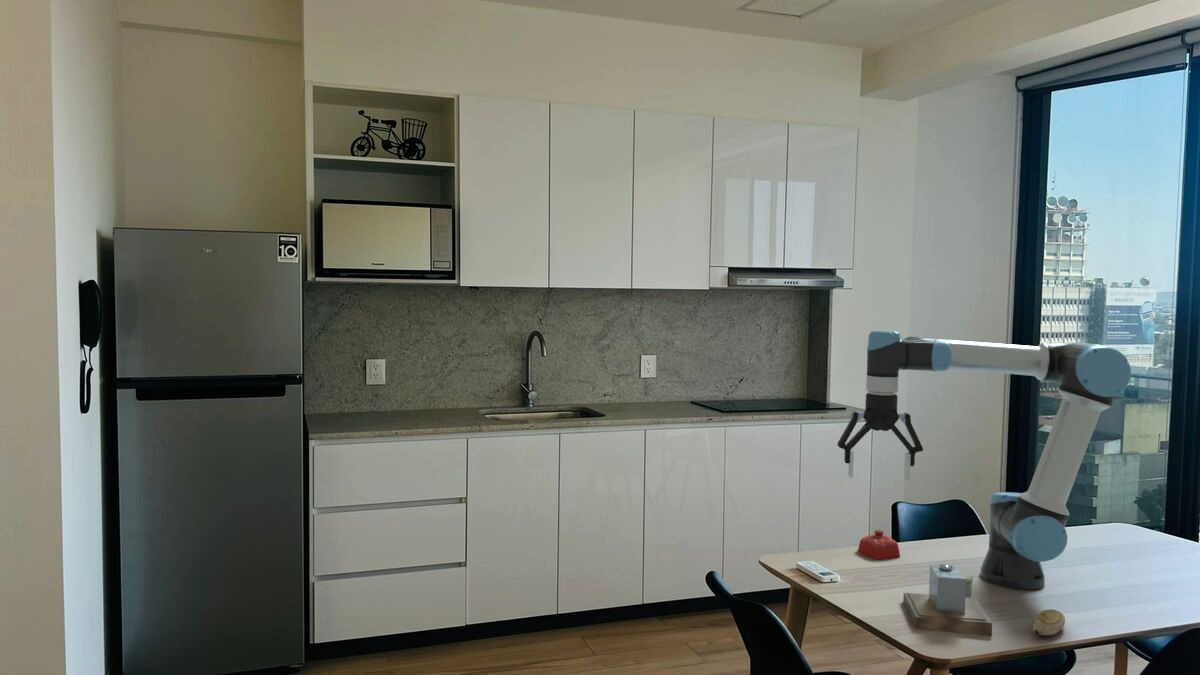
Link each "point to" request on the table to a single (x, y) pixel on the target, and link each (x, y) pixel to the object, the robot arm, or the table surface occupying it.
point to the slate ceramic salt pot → (968, 584)
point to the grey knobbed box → (947, 589)
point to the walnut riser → (947, 616)
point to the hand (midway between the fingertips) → (878, 477)
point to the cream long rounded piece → (1048, 622)
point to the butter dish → (879, 546)
